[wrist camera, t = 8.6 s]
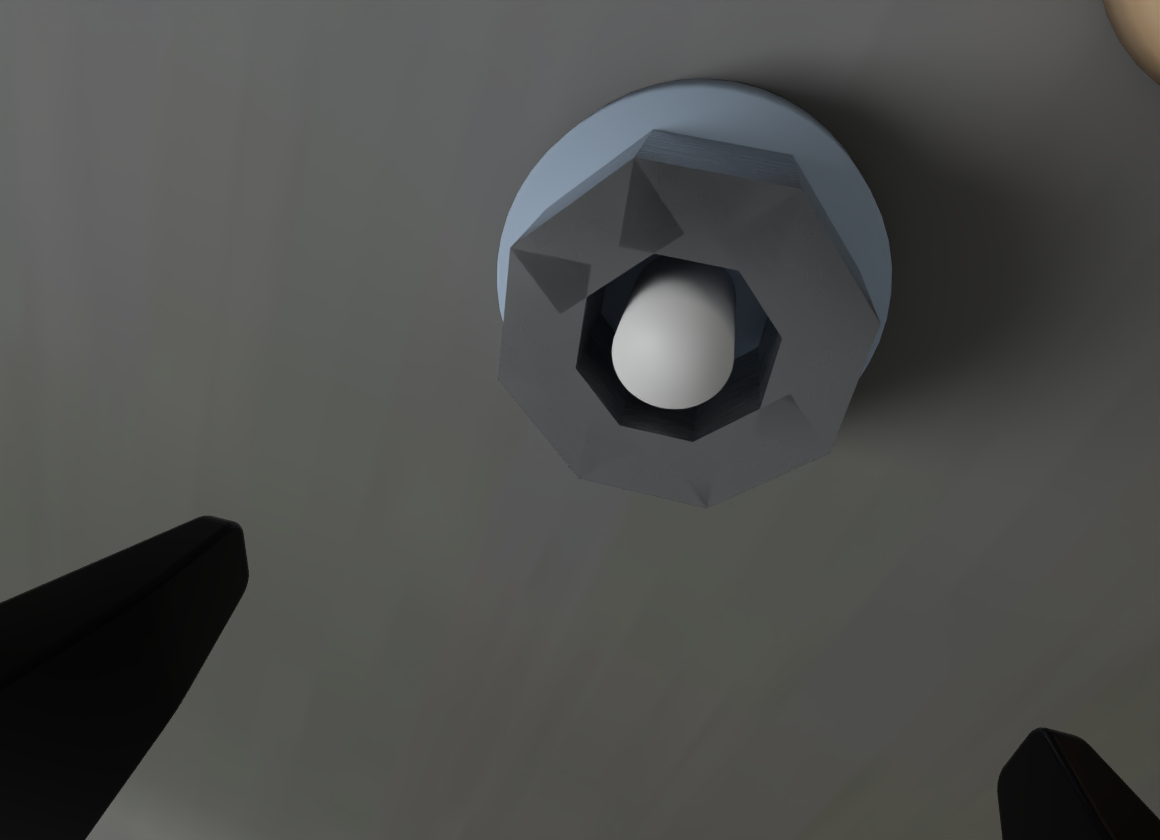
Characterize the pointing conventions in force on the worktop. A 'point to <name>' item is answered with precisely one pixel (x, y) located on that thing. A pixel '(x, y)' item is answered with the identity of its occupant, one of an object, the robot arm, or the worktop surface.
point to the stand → (1138, 31)
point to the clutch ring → (710, 236)
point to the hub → (686, 288)
